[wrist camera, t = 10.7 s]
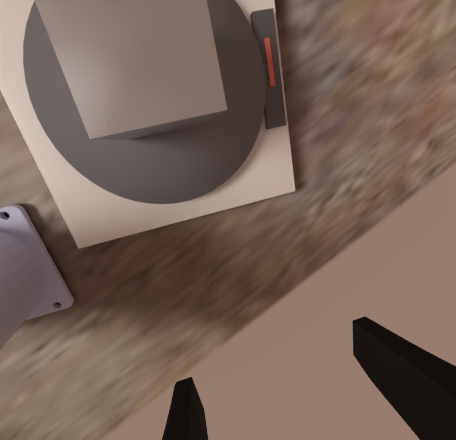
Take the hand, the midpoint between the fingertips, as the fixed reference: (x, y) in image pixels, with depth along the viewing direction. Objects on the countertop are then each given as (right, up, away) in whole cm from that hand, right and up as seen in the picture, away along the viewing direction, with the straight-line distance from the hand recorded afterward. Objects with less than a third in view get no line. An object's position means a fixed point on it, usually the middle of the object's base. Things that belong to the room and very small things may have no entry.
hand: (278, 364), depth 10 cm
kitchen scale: (-6, +13, +5) cm, 16 cm away
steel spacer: (-6, +13, +2) cm, 14 cm away
